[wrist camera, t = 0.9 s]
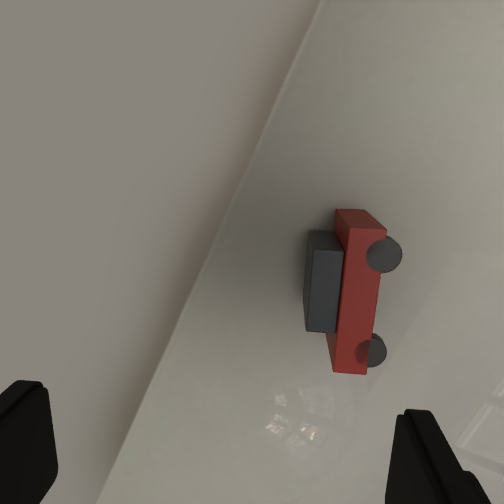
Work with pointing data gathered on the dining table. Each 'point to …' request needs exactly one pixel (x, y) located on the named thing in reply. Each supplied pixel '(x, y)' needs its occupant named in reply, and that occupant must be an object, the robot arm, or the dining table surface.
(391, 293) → the dining table surface
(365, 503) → the dining table surface
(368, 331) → the toy car
